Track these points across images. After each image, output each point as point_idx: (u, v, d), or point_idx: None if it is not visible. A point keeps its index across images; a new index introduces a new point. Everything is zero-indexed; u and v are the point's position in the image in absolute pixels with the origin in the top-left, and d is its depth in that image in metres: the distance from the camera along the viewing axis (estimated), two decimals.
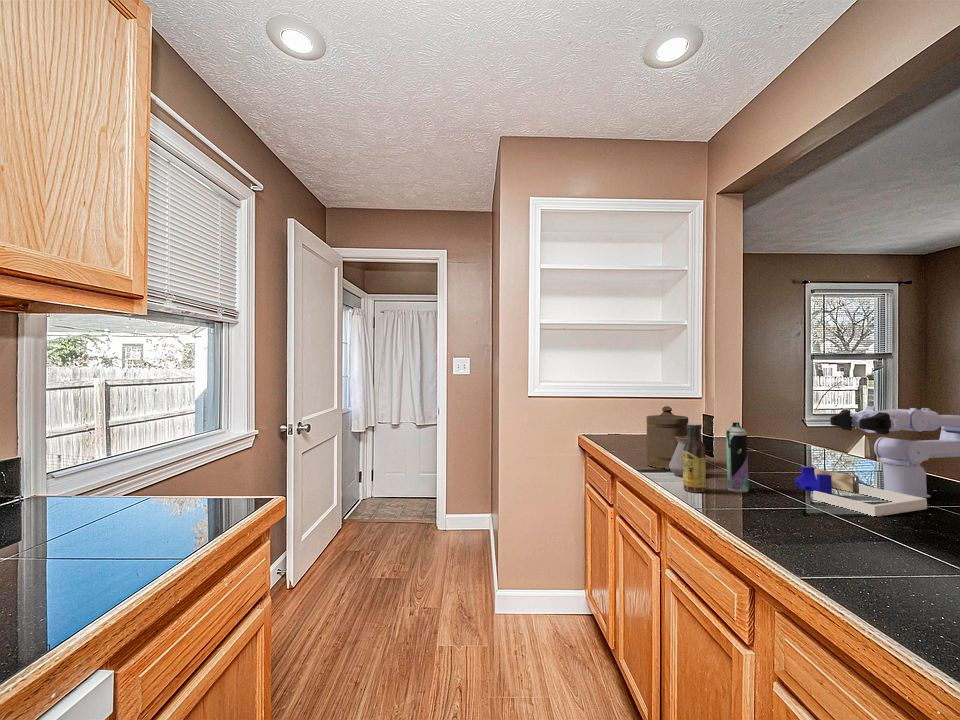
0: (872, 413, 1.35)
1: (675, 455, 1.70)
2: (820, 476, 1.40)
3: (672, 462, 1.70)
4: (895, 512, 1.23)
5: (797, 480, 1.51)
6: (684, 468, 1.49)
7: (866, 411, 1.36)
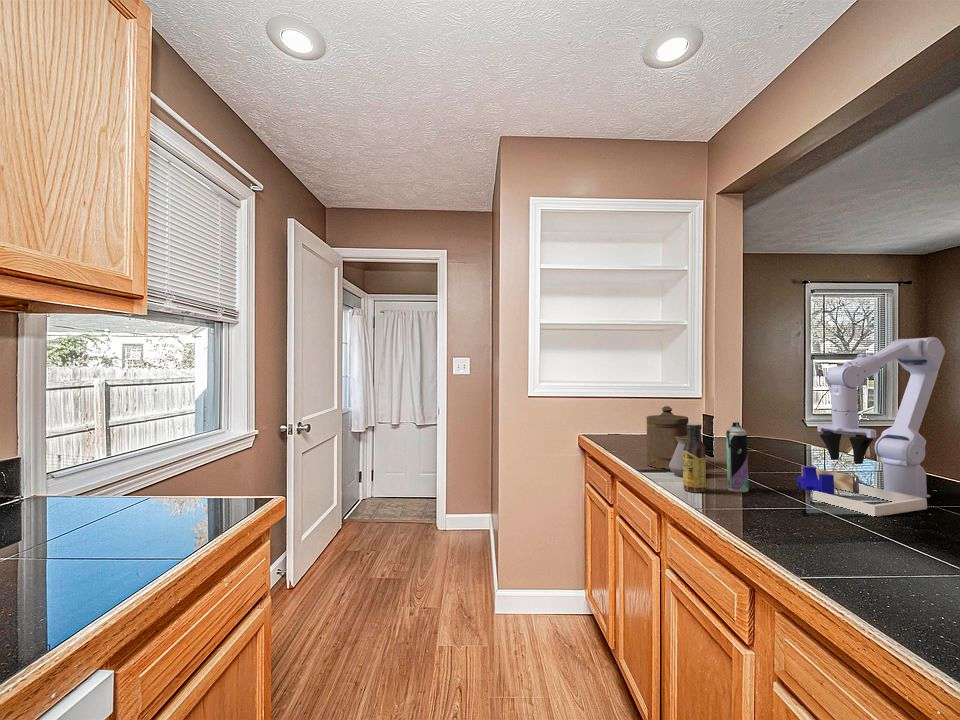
0: (842, 430, 1.34)
1: (675, 455, 1.70)
2: (822, 476, 1.40)
3: (672, 462, 1.70)
4: (895, 512, 1.23)
5: (799, 480, 1.51)
6: (684, 468, 1.49)
7: None
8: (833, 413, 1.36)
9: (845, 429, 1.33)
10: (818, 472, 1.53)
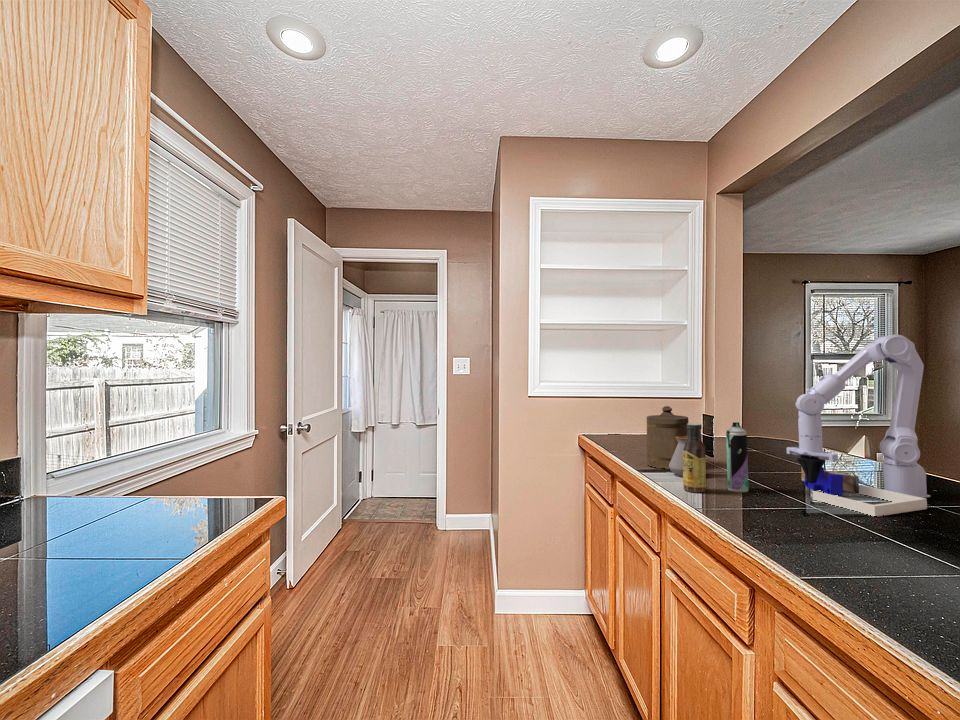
0: None
1: (675, 455, 1.70)
2: (832, 475, 1.40)
3: (672, 462, 1.70)
4: (895, 512, 1.23)
5: (806, 479, 1.51)
6: (684, 468, 1.49)
7: None
8: (800, 437, 1.47)
9: (810, 453, 1.44)
10: None
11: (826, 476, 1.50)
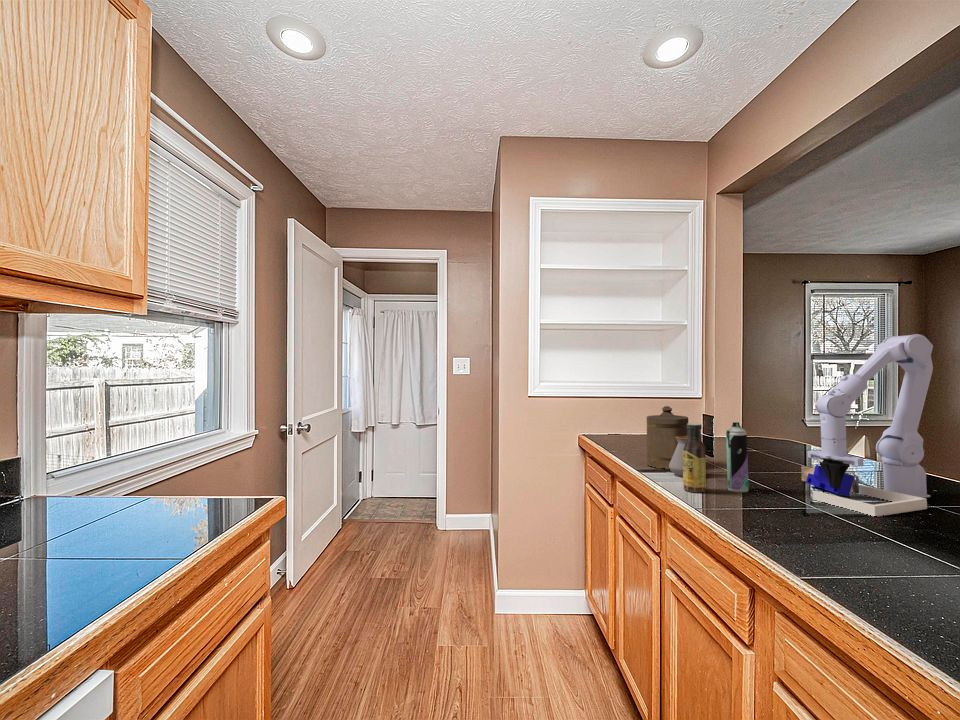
0: None
1: (675, 455, 1.70)
2: (844, 474, 1.39)
3: (672, 462, 1.70)
4: (895, 512, 1.23)
5: (810, 476, 1.50)
6: (684, 468, 1.49)
7: None
8: (822, 441, 1.40)
9: (834, 457, 1.37)
10: None
11: None
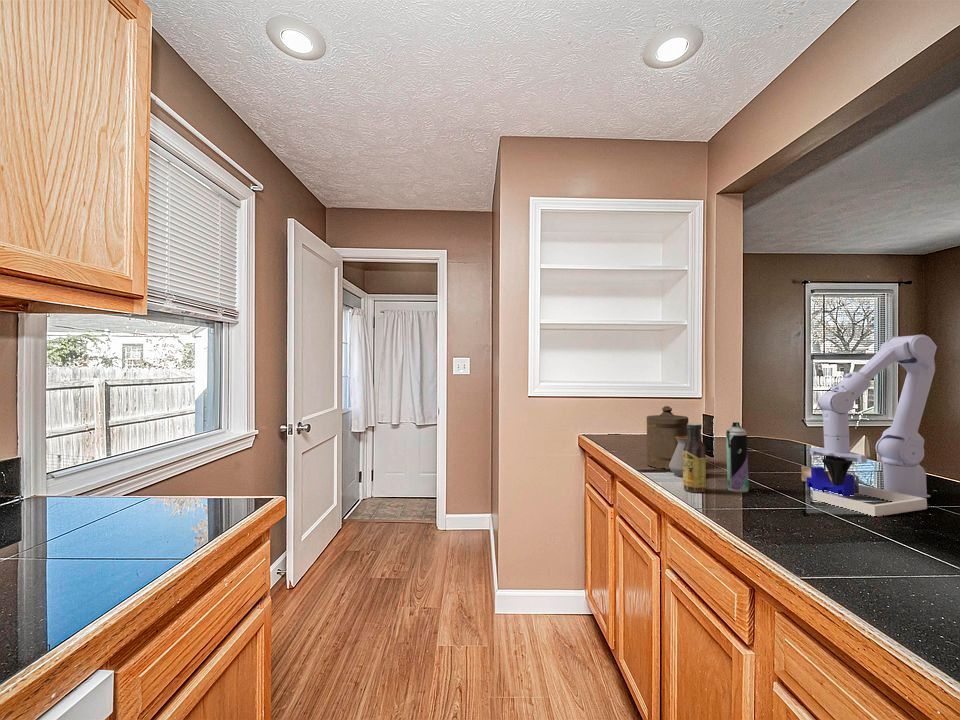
0: None
1: (675, 455, 1.70)
2: None
3: (672, 462, 1.70)
4: (895, 512, 1.23)
5: (809, 481, 1.50)
6: (684, 468, 1.49)
7: None
8: (825, 438, 1.39)
9: (837, 454, 1.36)
10: None
11: (826, 476, 1.50)
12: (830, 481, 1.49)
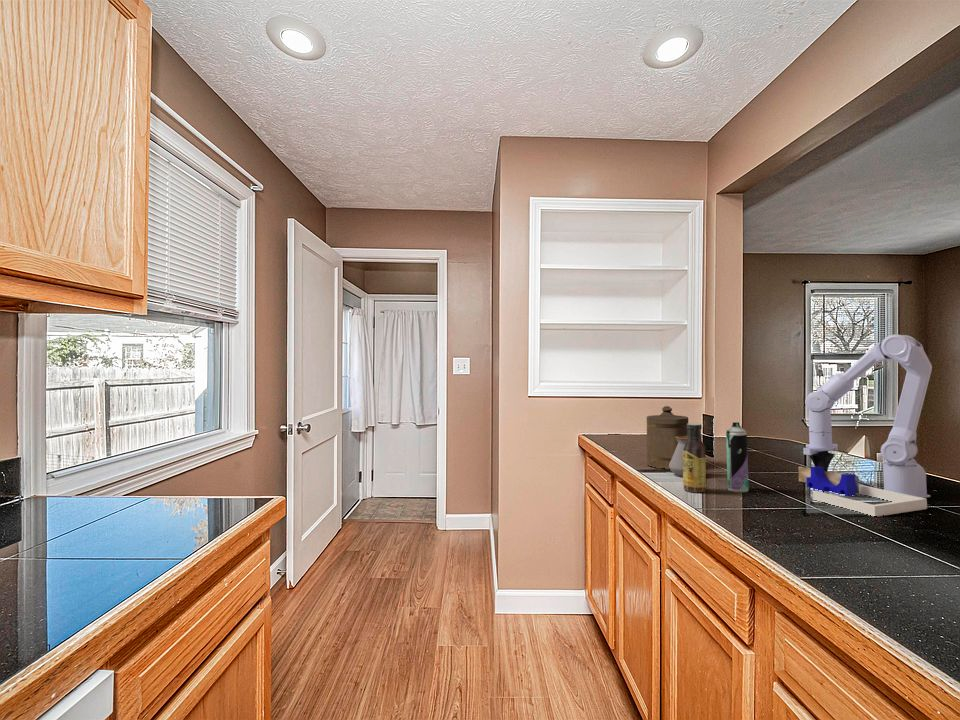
0: None
1: (675, 455, 1.70)
2: (847, 476, 1.39)
3: (672, 462, 1.70)
4: (895, 512, 1.23)
5: (809, 481, 1.50)
6: (684, 468, 1.49)
7: None
8: None
9: (808, 446, 1.54)
10: None
11: None
12: None
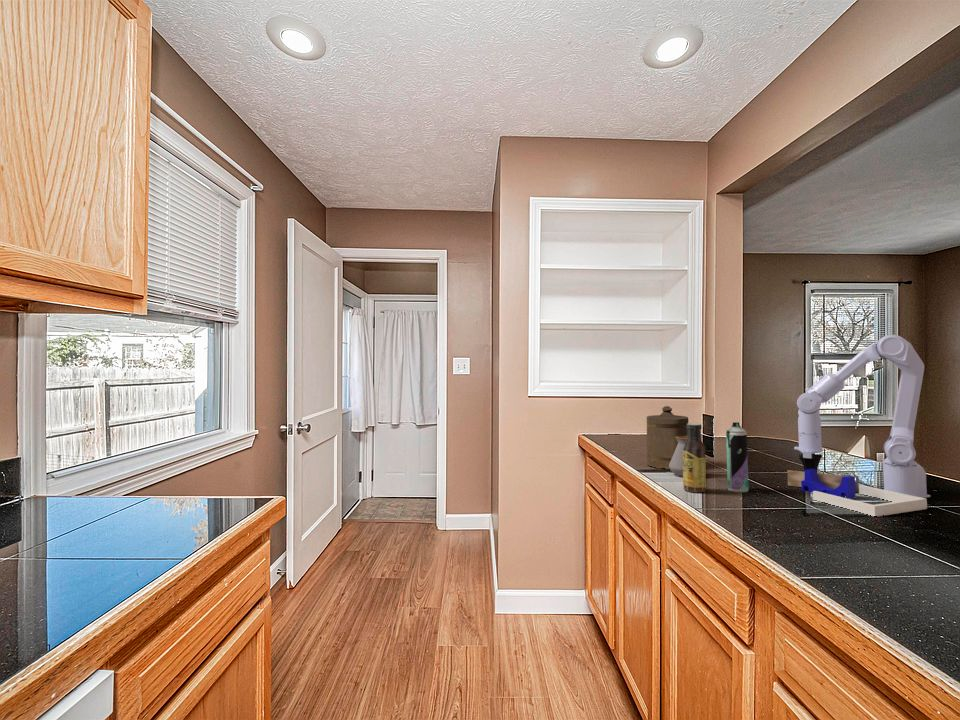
0: None
1: (675, 455, 1.70)
2: (848, 478, 1.37)
3: (672, 462, 1.70)
4: (895, 512, 1.23)
5: (805, 484, 1.46)
6: (684, 468, 1.49)
7: None
8: None
9: (799, 449, 1.51)
10: None
11: (820, 478, 1.47)
12: (825, 483, 1.46)
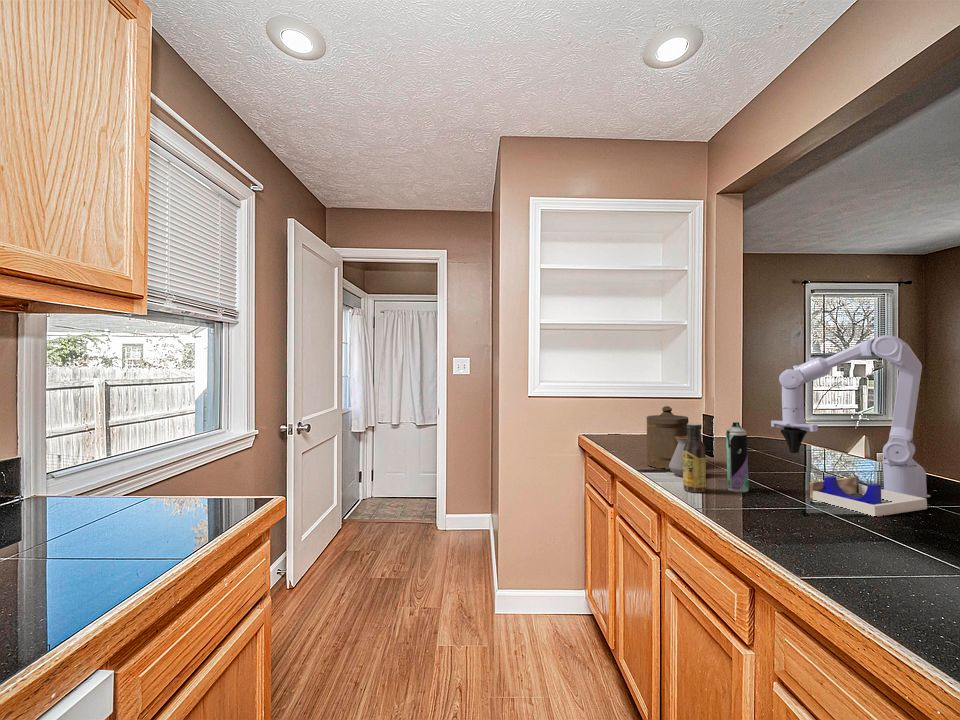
0: (790, 425, 1.54)
1: (675, 455, 1.70)
2: (874, 487, 1.27)
3: (672, 462, 1.70)
4: (895, 512, 1.23)
5: None
6: (684, 468, 1.49)
7: None
8: (783, 410, 1.56)
9: (792, 424, 1.53)
10: None
11: None
12: None
